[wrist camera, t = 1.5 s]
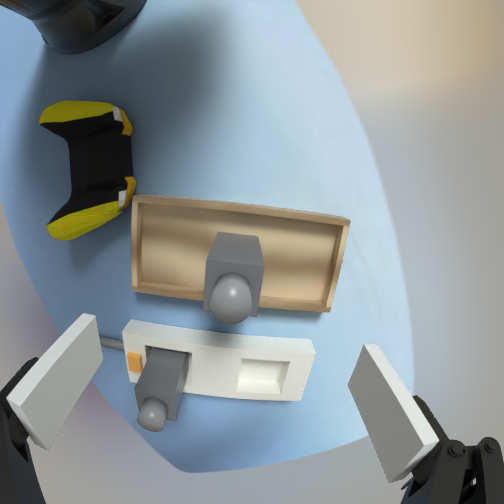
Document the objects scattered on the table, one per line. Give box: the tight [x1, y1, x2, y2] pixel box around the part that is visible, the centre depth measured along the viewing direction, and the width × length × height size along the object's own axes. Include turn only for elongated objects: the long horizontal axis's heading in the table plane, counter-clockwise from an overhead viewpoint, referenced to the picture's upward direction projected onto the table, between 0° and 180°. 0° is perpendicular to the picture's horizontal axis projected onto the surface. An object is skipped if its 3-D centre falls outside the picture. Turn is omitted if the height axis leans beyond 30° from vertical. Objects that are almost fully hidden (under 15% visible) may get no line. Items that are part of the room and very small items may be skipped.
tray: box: [131, 194, 350, 312], centre depth 27 cm, size 10×21×2 cm, turn 83°
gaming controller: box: [39, 100, 137, 241], centre depth 23 cm, size 15×6×10 cm
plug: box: [203, 232, 265, 324], centre depth 22 cm, size 4×4×12 cm
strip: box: [99, 319, 316, 401], centre depth 30 cm, size 8×28×4 cm, turn 83°
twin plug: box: [134, 347, 189, 432], centre depth 26 cm, size 4×4×12 cm
